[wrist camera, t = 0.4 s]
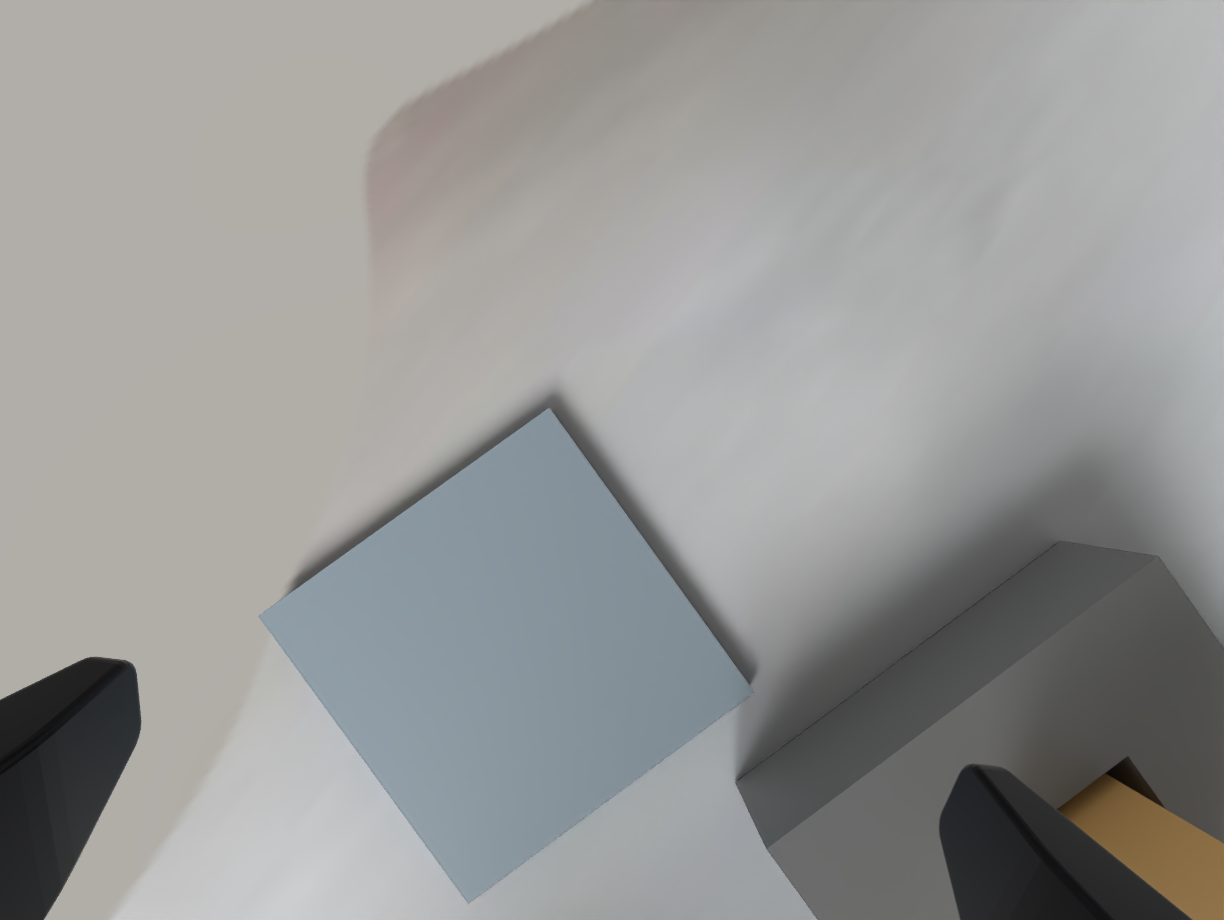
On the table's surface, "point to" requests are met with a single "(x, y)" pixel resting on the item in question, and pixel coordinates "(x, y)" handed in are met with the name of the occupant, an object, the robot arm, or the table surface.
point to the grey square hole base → (1000, 730)
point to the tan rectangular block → (1153, 845)
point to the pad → (507, 654)
